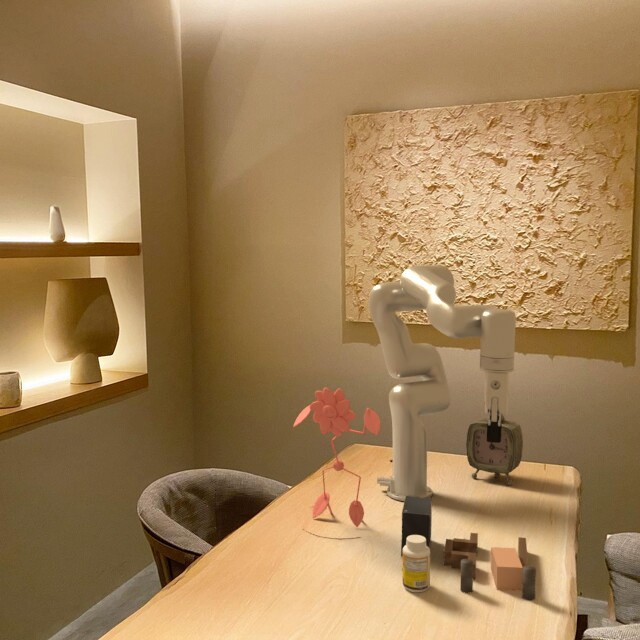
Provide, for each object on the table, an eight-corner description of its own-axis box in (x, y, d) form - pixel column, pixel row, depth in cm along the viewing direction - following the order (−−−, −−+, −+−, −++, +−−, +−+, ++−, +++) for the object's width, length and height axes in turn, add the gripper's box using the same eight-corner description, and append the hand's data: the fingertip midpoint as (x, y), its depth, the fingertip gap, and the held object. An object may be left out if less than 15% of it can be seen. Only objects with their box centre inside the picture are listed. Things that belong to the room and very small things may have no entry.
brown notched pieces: (439, 589, 138) (439, 561, 138) (447, 543, 160) (447, 518, 159) (535, 601, 134) (536, 571, 133) (530, 552, 155) (531, 526, 154)
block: (496, 590, 138) (497, 566, 138) (490, 569, 147) (491, 547, 147) (522, 591, 138) (522, 567, 137) (514, 570, 147) (515, 548, 146)
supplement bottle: (411, 577, 144) (412, 530, 143) (435, 585, 140) (435, 537, 139) (397, 587, 139) (397, 539, 138) (420, 596, 136) (420, 547, 135)
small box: (430, 559, 152) (430, 514, 151) (400, 557, 153) (400, 512, 152) (432, 539, 162) (432, 497, 161) (404, 537, 163) (404, 495, 162)
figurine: (306, 504, 184) (303, 377, 180) (392, 526, 170) (391, 387, 166) (271, 525, 172) (267, 389, 167) (361, 550, 157) (359, 401, 153)
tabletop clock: (465, 479, 204) (467, 396, 201) (477, 471, 211) (478, 391, 208) (513, 488, 195) (515, 402, 193) (524, 479, 203) (526, 396, 200)
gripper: (513, 370, 148) (510, 452, 151) (514, 358, 162) (510, 433, 165) (478, 368, 150) (475, 449, 153) (481, 356, 164) (478, 430, 167)
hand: (493, 441), depth 159 cm, fingers closed
